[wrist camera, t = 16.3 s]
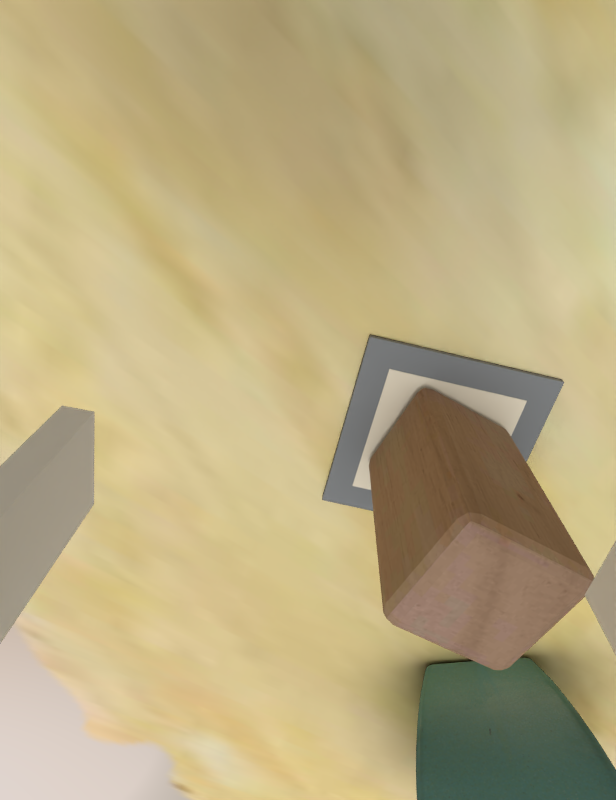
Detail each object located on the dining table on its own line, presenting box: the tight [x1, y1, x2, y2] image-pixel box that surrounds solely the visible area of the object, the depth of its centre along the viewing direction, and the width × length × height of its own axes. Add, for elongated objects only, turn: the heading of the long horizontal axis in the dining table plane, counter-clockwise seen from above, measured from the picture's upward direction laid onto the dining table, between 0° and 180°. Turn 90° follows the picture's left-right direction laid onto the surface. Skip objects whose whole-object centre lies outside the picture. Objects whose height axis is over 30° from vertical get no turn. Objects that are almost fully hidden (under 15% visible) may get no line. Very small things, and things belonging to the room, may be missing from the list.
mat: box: [322, 335, 564, 511], centre depth 52 cm, size 18×18×1 cm
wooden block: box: [369, 388, 594, 670], centre depth 43 cm, size 10×10×20 cm
